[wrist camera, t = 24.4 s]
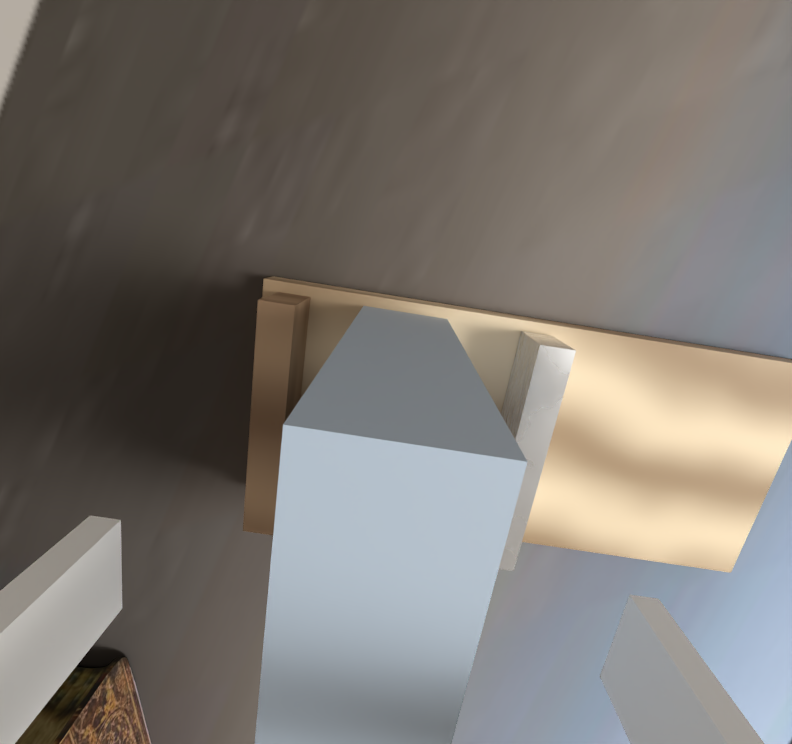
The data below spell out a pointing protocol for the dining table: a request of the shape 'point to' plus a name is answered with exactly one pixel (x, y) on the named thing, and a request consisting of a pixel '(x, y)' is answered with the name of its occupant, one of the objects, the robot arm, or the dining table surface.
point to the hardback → (384, 539)
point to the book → (92, 710)
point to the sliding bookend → (533, 419)
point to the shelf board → (569, 424)
